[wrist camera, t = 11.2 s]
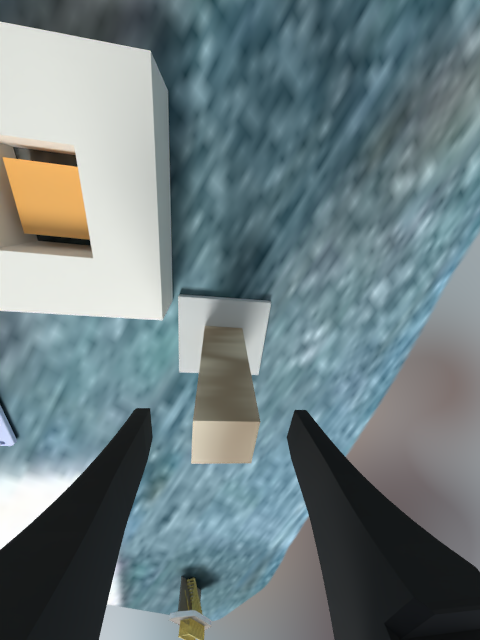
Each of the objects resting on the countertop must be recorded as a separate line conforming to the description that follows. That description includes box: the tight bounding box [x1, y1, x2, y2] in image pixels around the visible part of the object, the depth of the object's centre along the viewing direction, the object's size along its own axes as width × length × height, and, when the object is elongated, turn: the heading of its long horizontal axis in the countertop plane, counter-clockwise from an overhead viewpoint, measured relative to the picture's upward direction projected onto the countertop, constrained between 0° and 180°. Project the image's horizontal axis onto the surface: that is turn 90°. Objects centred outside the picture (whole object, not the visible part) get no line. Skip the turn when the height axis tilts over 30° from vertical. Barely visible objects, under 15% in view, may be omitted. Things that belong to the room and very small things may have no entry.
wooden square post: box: [191, 326, 260, 464], centre depth 15 cm, size 3×3×9 cm
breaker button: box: [3, 157, 90, 240], centre depth 13 cm, size 4×4×2 cm
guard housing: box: [0, 22, 173, 320], centre depth 13 cm, size 12×12×4 cm
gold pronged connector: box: [170, 576, 211, 640], centre depth 39 cm, size 12×18×7 cm, turn 19°
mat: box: [178, 294, 271, 375], centre depth 19 cm, size 7×7×1 cm
